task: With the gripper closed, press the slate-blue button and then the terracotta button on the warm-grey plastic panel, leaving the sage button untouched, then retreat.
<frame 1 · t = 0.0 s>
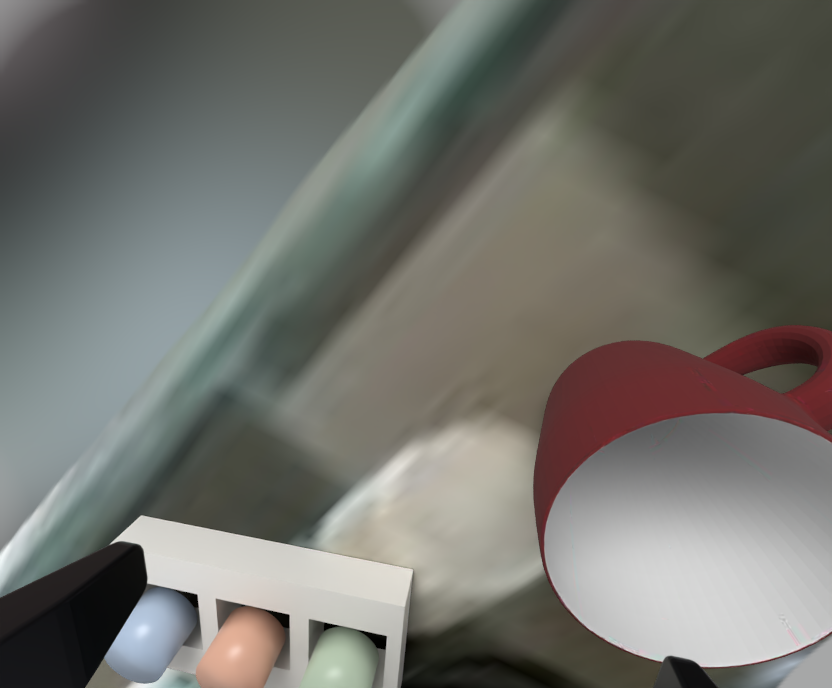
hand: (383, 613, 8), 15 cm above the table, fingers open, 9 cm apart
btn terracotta: (242, 654, 26), point 4 cm above the table, slide at 0.0 cm
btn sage: (339, 677, 25), point 4 cm above the table, slide at 0.0 cm
panel: (273, 598, 29), on the table
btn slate: (151, 633, 26), point 4 cm above the table, slide at 0.0 cm
mug: (635, 370, 21), on the table
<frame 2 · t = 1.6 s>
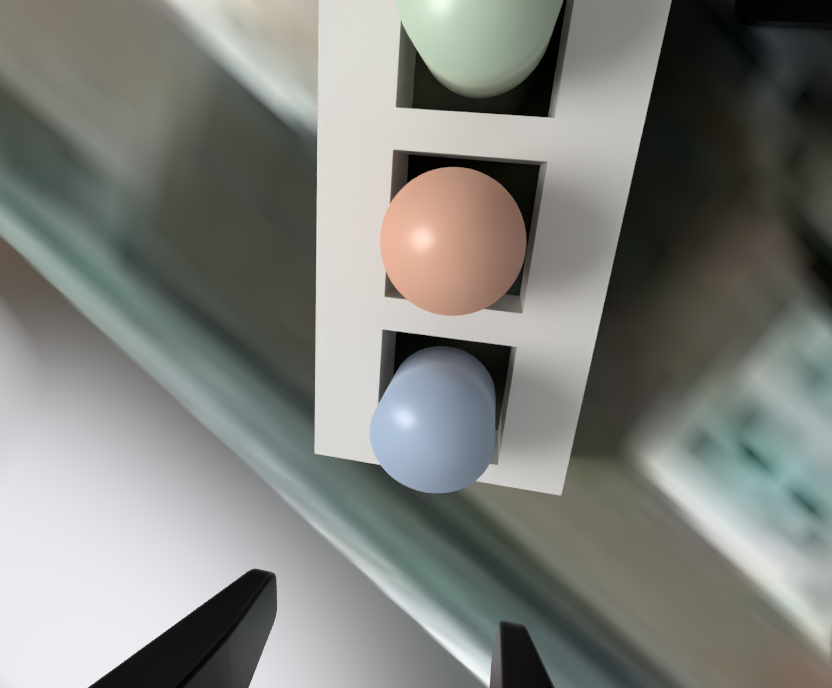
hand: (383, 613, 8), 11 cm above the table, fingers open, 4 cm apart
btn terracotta: (456, 238, 13), point 4 cm above the table, slide at 0.0 cm
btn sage: (482, 2, 11), point 4 cm above the table, slide at 0.0 cm
panel: (465, 227, 16), on the table
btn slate: (437, 415, 15), point 4 cm above the table, slide at 0.0 cm
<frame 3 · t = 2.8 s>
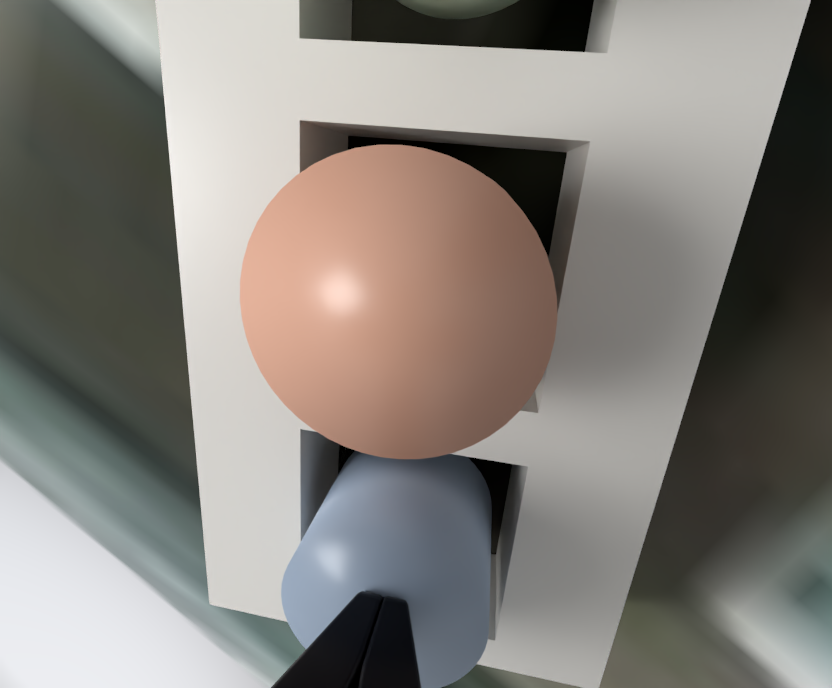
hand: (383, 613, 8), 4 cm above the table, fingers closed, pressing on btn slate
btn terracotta: (413, 290, 7), point 4 cm above the table, slide at 0.0 cm
panel: (443, 254, 10), on the table
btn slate: (399, 550, 9), point 3 cm above the table, slide at 0.9 cm, touching gripper
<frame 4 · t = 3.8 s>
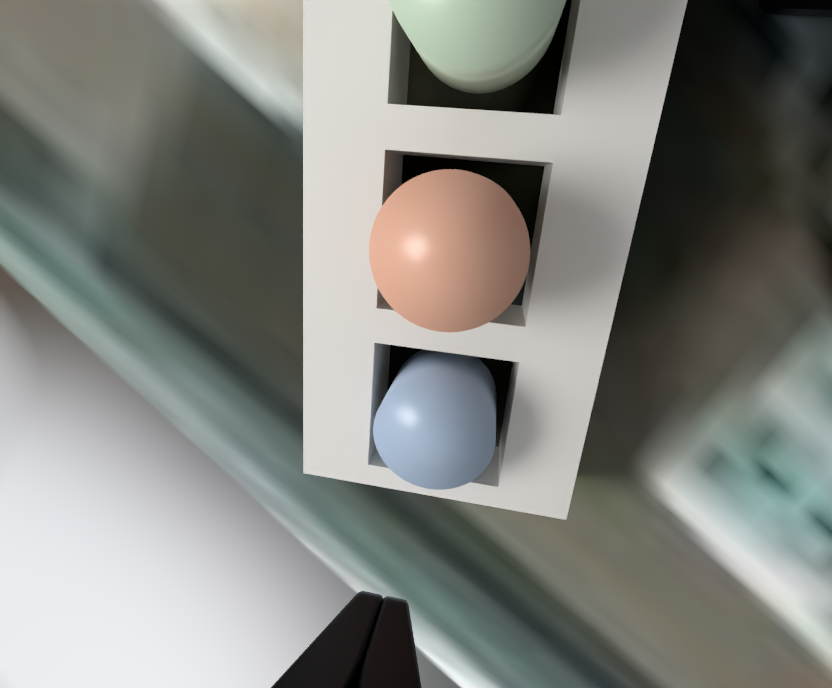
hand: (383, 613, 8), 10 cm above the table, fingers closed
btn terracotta: (453, 246, 12), point 4 cm above the table, slide at 0.0 cm
panel: (464, 232, 15), on the table
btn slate: (439, 413, 15), point 2 cm above the table, slide at 1.4 cm
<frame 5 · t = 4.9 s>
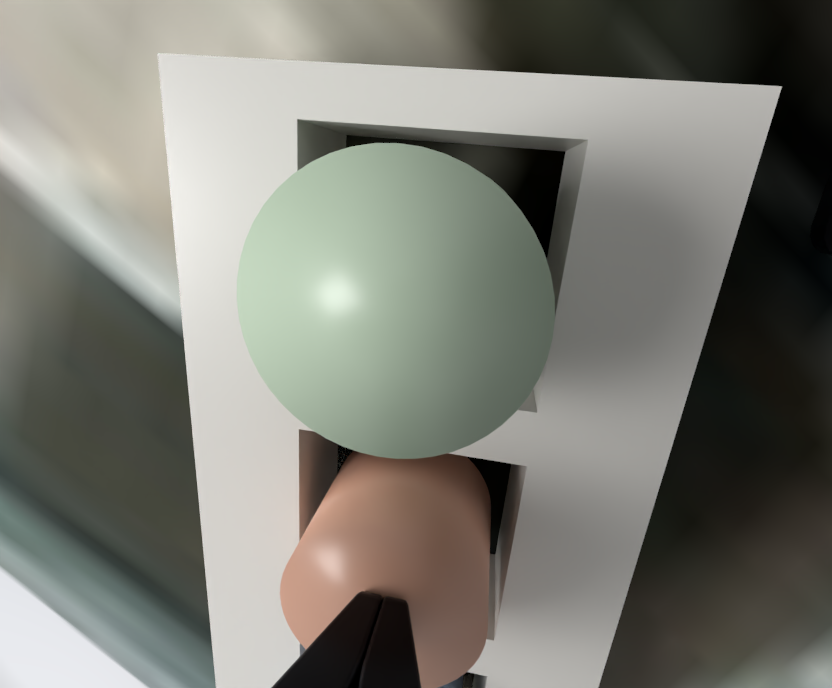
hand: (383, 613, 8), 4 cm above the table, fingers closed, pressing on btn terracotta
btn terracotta: (398, 549, 9), point 3 cm above the table, slide at 0.9 cm, touching gripper
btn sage: (411, 289, 7), point 4 cm above the table, slide at 0.0 cm
panel: (420, 470, 12), on the table
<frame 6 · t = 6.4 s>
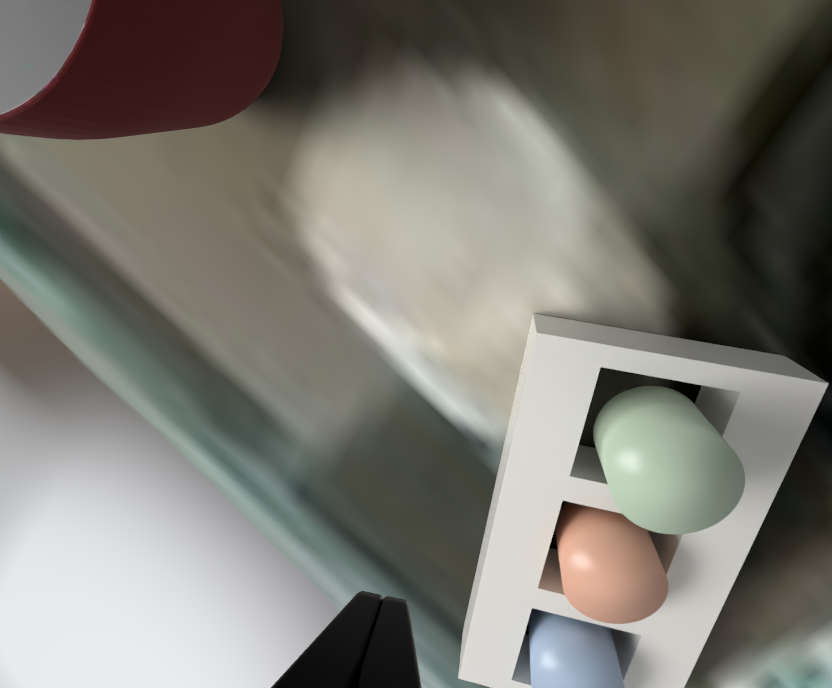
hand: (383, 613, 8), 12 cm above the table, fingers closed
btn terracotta: (606, 554, 18), point 2 cm above the table, slide at 1.4 cm
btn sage: (660, 455, 15), point 4 cm above the table, slide at 0.0 cm
panel: (595, 516, 20), on the table
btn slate: (572, 653, 20), point 2 cm above the table, slide at 1.4 cm
mug: (208, 11, 17), on the table
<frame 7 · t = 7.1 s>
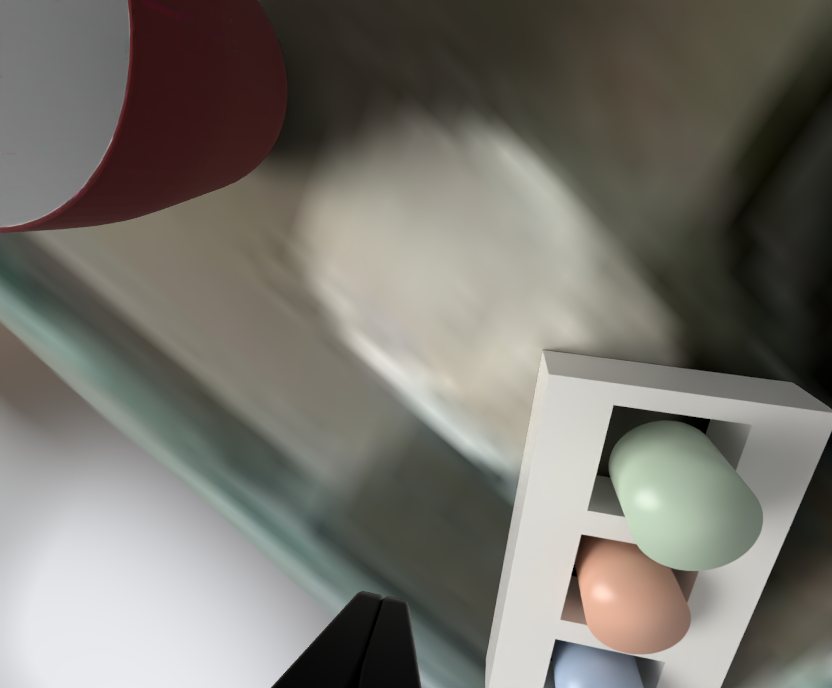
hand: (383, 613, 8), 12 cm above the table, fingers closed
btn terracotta: (626, 584, 18), point 2 cm above the table, slide at 1.4 cm
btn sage: (676, 491, 15), point 4 cm above the table, slide at 0.0 cm
panel: (613, 543, 21), on the table
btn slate: (597, 681, 20), point 2 cm above the table, slide at 1.4 cm
mug: (211, 72, 17), on the table
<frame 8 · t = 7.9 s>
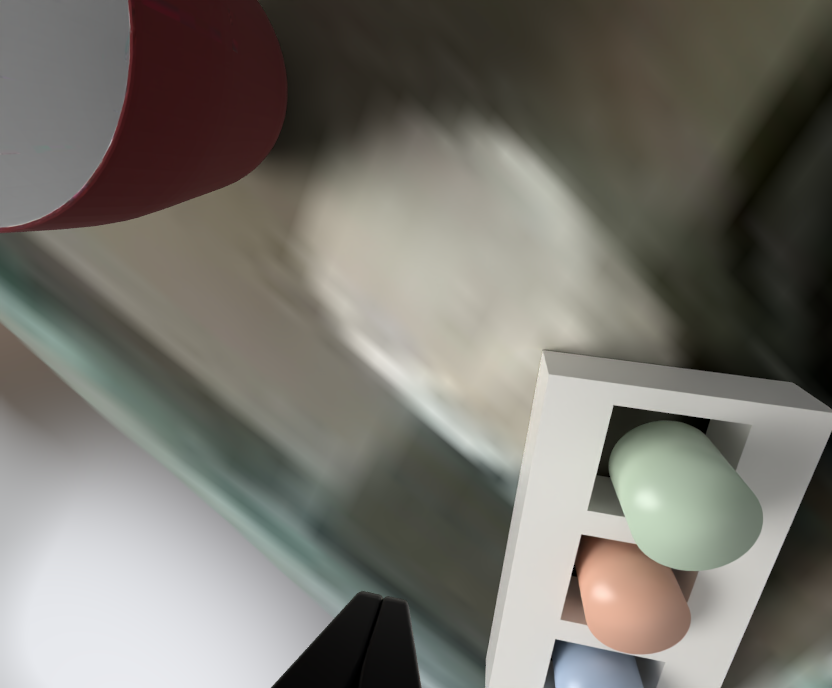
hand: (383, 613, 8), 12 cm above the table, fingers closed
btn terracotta: (626, 584, 18), point 2 cm above the table, slide at 1.4 cm
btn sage: (676, 491, 15), point 4 cm above the table, slide at 0.0 cm
panel: (613, 543, 21), on the table
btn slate: (597, 681, 20), point 2 cm above the table, slide at 1.4 cm
mug: (211, 72, 17), on the table
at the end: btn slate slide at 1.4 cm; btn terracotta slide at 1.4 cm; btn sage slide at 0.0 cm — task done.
